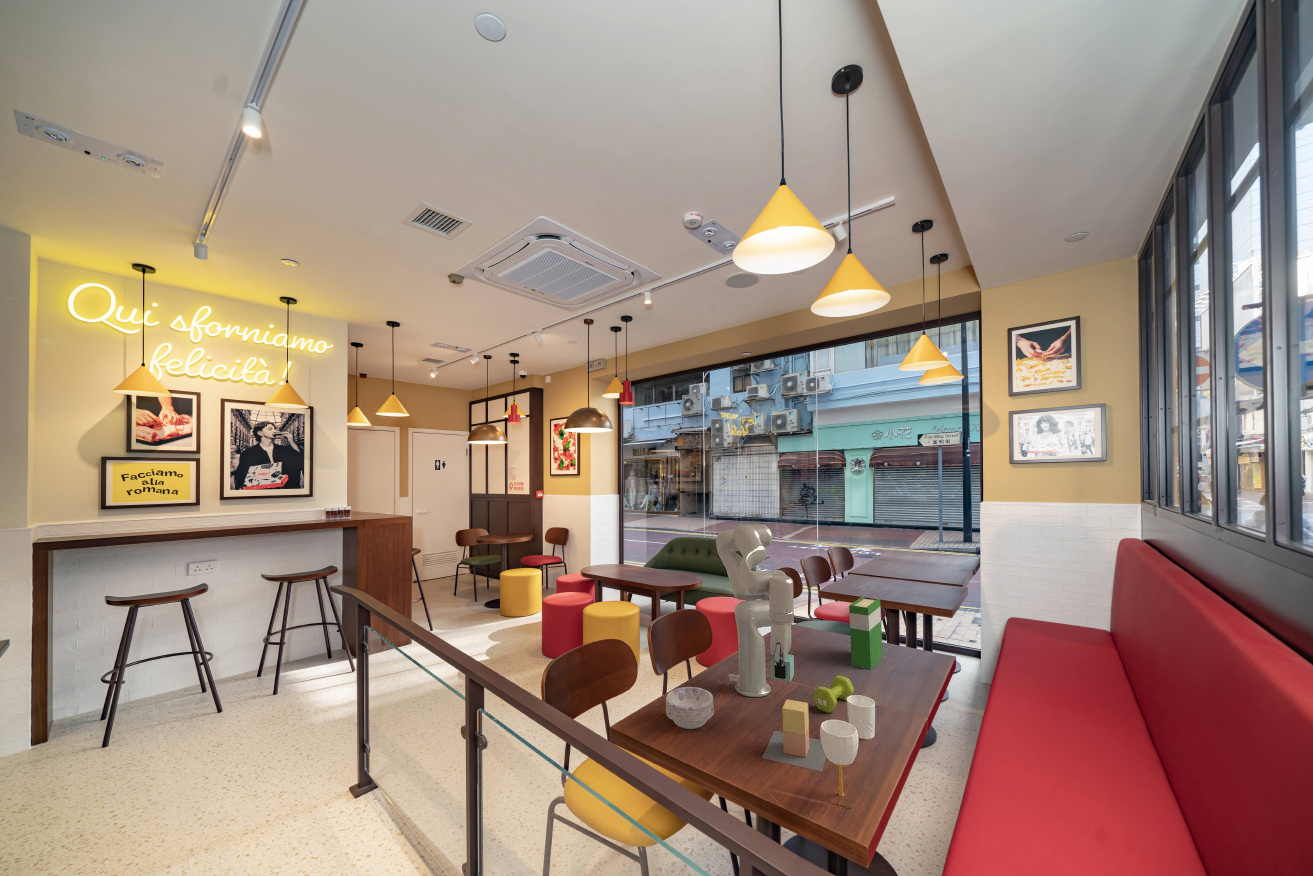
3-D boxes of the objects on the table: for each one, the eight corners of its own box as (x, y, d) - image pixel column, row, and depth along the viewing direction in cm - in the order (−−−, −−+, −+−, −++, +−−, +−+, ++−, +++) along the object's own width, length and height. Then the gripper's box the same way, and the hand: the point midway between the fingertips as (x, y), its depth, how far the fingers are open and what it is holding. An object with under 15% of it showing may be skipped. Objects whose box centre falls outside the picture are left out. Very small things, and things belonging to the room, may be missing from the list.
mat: (761, 759, 138) (761, 757, 138) (774, 732, 153) (774, 730, 153) (822, 774, 132) (822, 771, 132) (830, 744, 146) (830, 741, 146)
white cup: (874, 744, 145) (872, 708, 146) (845, 737, 149) (844, 702, 150) (878, 732, 152) (876, 698, 152) (851, 726, 156) (849, 692, 157)
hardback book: (864, 653, 218) (862, 596, 220) (882, 656, 214) (880, 598, 215) (851, 665, 204) (849, 605, 206) (871, 669, 200) (868, 608, 201)
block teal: (770, 678, 158) (770, 659, 158) (775, 670, 163) (774, 652, 163) (790, 682, 155) (790, 662, 155) (794, 674, 161) (793, 655, 161)
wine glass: (853, 814, 116) (850, 741, 117) (815, 797, 122) (812, 729, 123) (867, 795, 123) (864, 726, 124) (830, 780, 129) (828, 715, 130)
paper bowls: (674, 737, 151) (673, 710, 152) (660, 714, 166) (660, 689, 166) (721, 729, 155) (720, 703, 156) (704, 708, 170) (703, 683, 170)
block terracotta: (783, 752, 141) (783, 730, 141) (788, 742, 146) (787, 720, 147) (805, 757, 138) (805, 734, 139) (809, 746, 144) (808, 724, 144)
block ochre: (783, 730, 141) (782, 708, 142) (787, 720, 147) (786, 699, 147) (805, 734, 139) (804, 712, 139) (808, 724, 144) (808, 703, 144)
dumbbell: (833, 716, 163) (832, 693, 163) (810, 708, 168) (810, 686, 169) (856, 700, 174) (855, 678, 174) (834, 693, 180) (834, 672, 180)
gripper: (775, 606, 169) (776, 661, 169) (763, 622, 154) (764, 682, 153) (798, 609, 166) (799, 665, 165) (788, 626, 150) (789, 687, 150)
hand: (782, 673), depth 159 cm, fingers closed on block teal, 6 cm apart
